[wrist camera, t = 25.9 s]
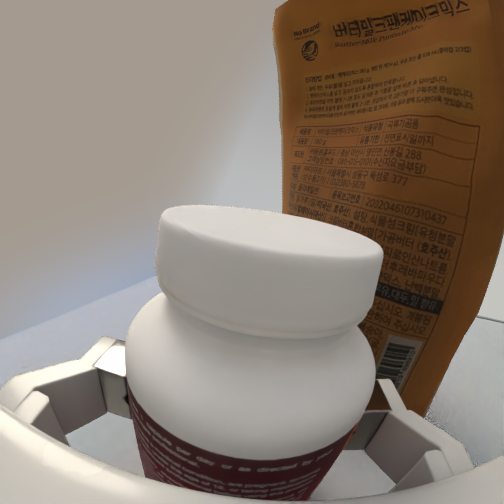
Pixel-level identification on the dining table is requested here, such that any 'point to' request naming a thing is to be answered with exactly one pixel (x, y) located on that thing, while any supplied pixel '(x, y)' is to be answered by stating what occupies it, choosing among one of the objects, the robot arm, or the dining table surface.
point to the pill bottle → (251, 351)
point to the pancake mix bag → (400, 160)
